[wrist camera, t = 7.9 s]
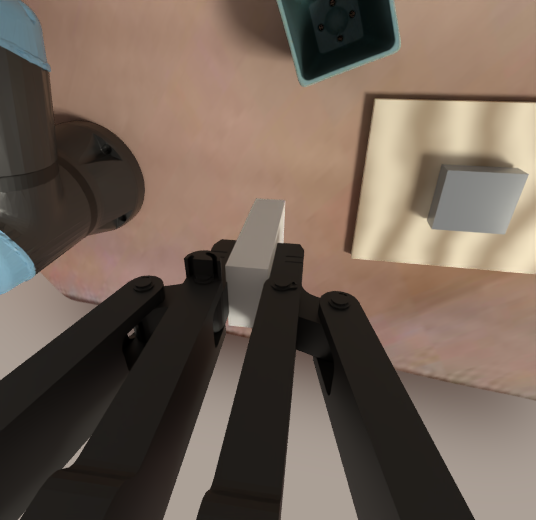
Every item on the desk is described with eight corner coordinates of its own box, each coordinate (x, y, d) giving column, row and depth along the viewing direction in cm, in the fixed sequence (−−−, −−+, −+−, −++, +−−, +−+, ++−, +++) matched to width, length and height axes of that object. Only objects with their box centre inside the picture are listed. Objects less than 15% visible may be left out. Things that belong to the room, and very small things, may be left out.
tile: (431, 229, 40) (504, 234, 39) (447, 170, 37) (528, 174, 36) (425, 219, 43) (494, 224, 42) (440, 163, 39) (516, 166, 38)
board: (350, 254, 48) (351, 258, 47) (374, 98, 38) (375, 99, 37) (536, 269, 45) (541, 274, 44) (616, 103, 35) (624, 105, 34)
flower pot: (306, 83, 38) (300, 89, 31) (282, -9, 35) (267, -28, 27) (387, 52, 36) (402, 50, 28) (370, -52, 32) (382, -86, 24)
